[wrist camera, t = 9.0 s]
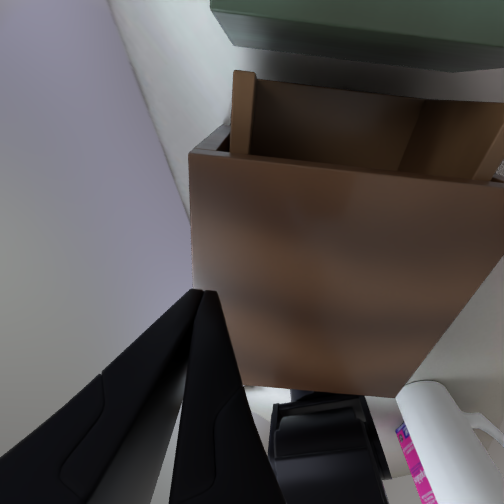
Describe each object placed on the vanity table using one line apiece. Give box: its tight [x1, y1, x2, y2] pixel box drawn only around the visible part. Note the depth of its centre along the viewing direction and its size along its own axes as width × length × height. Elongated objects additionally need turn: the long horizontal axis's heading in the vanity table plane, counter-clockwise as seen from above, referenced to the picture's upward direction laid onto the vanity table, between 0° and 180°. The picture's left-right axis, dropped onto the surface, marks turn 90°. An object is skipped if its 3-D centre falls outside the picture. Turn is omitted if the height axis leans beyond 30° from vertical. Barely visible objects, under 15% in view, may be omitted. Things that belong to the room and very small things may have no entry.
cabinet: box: [188, 125, 504, 398], centre depth 17 cm, size 15×14×9 cm
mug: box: [395, 381, 504, 504], centre depth 28 cm, size 10×7×12 cm, turn 101°
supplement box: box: [396, 422, 438, 504], centre depth 33 cm, size 6×6×12 cm
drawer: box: [210, 0, 504, 181], centre depth 12 cm, size 19×13×8 cm, turn 174°
